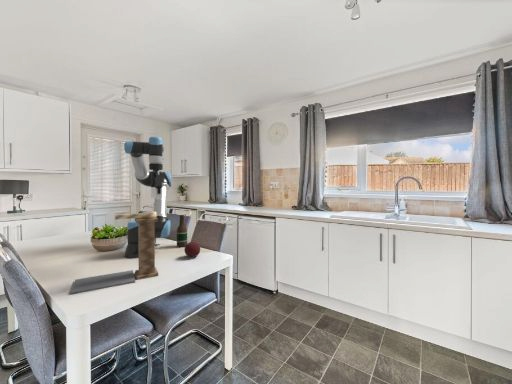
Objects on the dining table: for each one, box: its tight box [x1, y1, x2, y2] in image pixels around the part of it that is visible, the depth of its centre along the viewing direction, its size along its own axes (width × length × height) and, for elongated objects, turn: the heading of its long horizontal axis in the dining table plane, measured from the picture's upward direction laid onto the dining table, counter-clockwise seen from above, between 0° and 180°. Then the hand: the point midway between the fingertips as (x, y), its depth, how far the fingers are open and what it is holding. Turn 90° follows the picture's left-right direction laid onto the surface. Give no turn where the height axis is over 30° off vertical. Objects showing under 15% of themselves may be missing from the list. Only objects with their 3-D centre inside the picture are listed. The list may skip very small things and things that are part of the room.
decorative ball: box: [184, 241, 201, 258], centre depth 155 cm, size 10×10×10 cm
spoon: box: [114, 210, 157, 220], centre depth 121 cm, size 19×7×3 cm, turn 121°
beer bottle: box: [176, 214, 188, 248], centre depth 180 cm, size 8×8×24 cm
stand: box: [134, 218, 159, 280], centre depth 125 cm, size 10×10×30 cm
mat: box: [70, 269, 136, 295], centre depth 116 cm, size 25×16×1 cm, turn 121°
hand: (156, 198), depth 143 cm, fingers open, 13 cm apart
